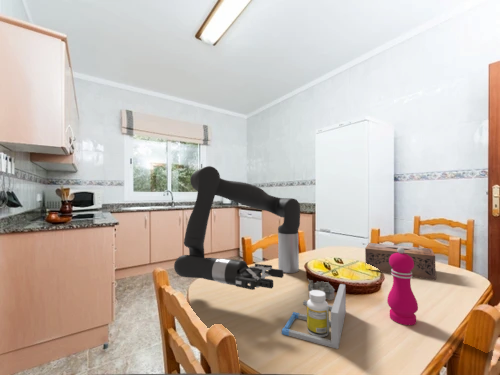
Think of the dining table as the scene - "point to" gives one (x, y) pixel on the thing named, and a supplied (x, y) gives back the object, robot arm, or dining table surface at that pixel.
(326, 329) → the supplement bottle
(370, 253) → the tissue box cover
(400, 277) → the pepper mill
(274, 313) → the dining table surface
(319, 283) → the egg carton
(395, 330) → the dining table surface
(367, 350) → the dining table surface
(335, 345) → the grey panel rail frame
